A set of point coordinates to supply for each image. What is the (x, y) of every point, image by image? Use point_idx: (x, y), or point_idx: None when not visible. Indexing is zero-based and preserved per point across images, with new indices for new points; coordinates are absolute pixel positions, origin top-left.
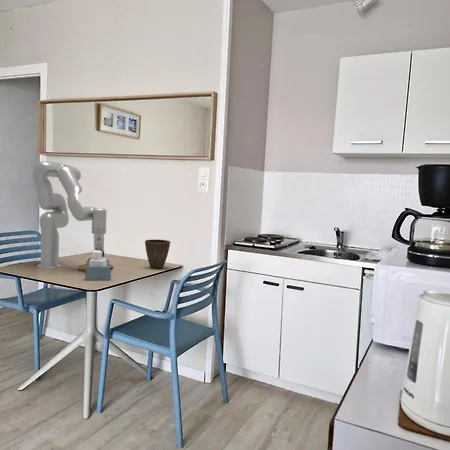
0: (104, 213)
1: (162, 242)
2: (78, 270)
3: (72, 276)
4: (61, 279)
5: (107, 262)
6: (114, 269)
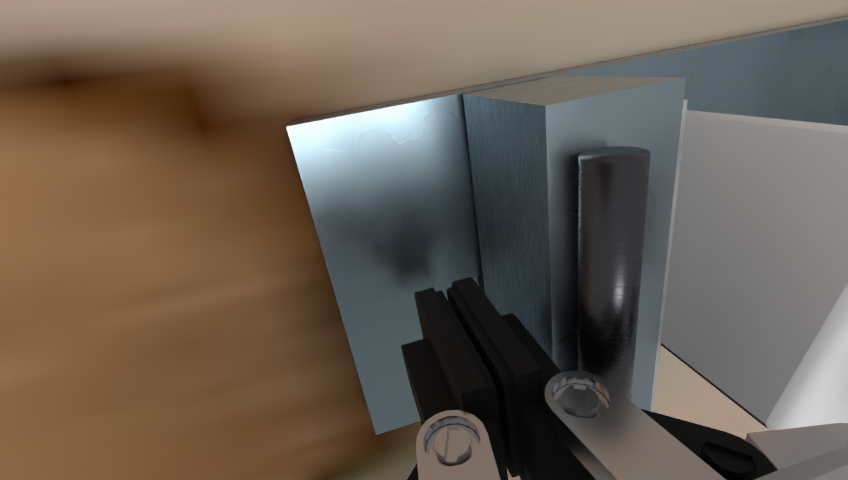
0: None
1: None
2: (394, 465)
3: (668, 406)
4: (752, 430)
5: (676, 125)
6: (171, 5)
